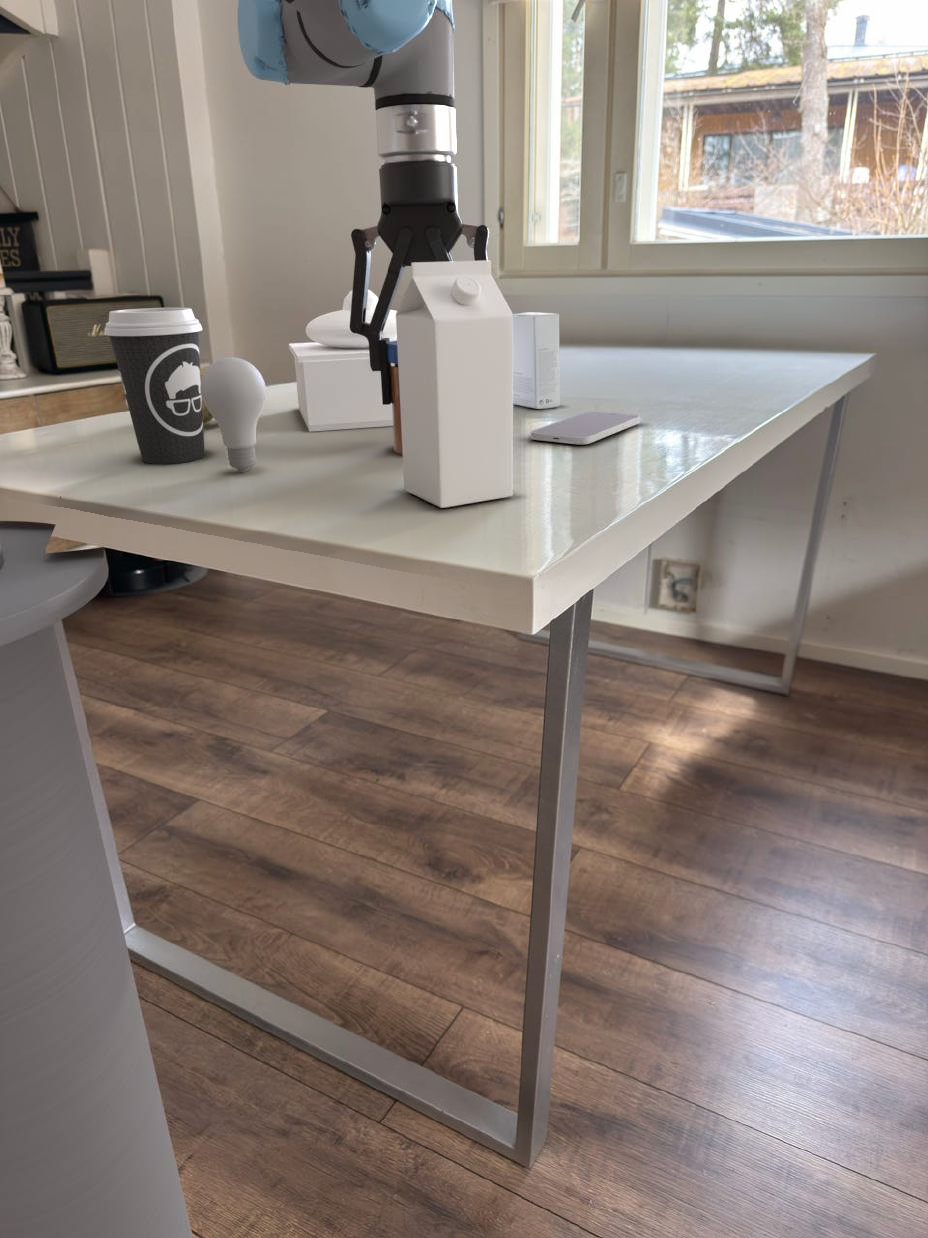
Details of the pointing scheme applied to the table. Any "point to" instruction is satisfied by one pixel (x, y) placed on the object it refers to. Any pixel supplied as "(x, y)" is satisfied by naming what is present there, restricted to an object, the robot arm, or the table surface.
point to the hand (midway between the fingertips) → (427, 401)
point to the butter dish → (340, 373)
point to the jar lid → (392, 352)
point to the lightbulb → (235, 406)
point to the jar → (396, 408)
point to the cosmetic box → (536, 360)
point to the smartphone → (585, 427)
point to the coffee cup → (161, 380)
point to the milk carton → (456, 384)
